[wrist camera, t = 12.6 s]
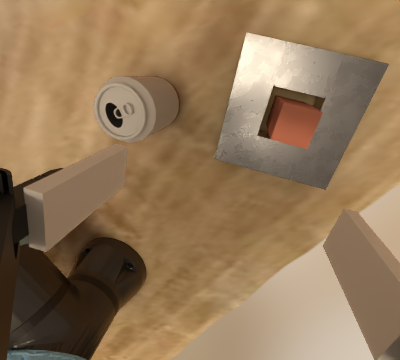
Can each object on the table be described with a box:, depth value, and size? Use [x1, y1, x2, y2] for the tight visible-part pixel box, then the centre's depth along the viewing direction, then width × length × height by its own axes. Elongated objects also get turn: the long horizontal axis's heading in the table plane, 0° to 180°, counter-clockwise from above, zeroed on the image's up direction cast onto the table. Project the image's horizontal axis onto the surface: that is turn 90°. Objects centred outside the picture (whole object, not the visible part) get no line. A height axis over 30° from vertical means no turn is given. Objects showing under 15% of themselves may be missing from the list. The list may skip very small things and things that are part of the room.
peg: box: [266, 96, 323, 149], centre depth 29 cm, size 4×4×10 cm
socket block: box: [214, 33, 389, 190], centre depth 32 cm, size 16×16×4 cm
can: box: [94, 76, 179, 143], centre depth 32 cm, size 8×8×12 cm
